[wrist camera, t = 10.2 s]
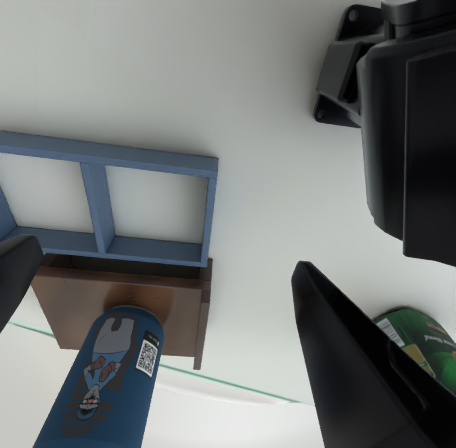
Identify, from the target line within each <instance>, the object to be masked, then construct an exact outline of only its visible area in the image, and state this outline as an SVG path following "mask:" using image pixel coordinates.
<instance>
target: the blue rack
mask: <svg viewBox="0 0 456 448" xmlns="http://www.w3.org/2000/svg"><path fill="white" fill-rule="evenodd" d="M0 152H1V153H9V154H17V155H26V156H34V157H42V158H51V159H59V160H67V161H76V162H80V166H81V171H82V176H83V180H84V185H85V190H86V195H87V199H88V204H89V209H90V213H91V218H92V223H93V228H94V232H95V234H89V233H79V232H68V231H58V230H48V229H38V228H28V227H18V226H17V225H16V223H15V221H14V218H13V216H12V213H11V211H10V209H9V206H8V204H7V202H6V199H5V197H4V195H3V192H2V190H1V187H0V242H2V241H5V240H7V239H10V238H12V237H15V236H17V235H20V234H29V235H35V236H36V237H37V238H38V240H39V243H40V245H41V248H42V251H43V252H44V253H55V254H66V255H77V256H87V257H98V258H109V259H120V260H131V261H142V262H153V263H164V264H175V265H186V266H197V267H207V259H208V250H209V242H210V233H211V225H212V216H213V208H214V199H215V191H216V182H217V174H218V161H219V159H218V158H212V157H204V156H196V155H188V154H180V153H172V152H164V151H157V150H149V149H141V148H133V147H125V146H117V145H109V144H101V143H94V142H86V141H78V140H70V139H62V138H54V137H46V136H38V135H30V134H23V133H15V132H7V131H0ZM105 165H109V166H117V167H126V168H134V169H142V170H150V171H159V172H167V173H175V174H184V175H192V176H200V177H209V181H208V191H207V201H206V212H205V222H204V232H203V242H202V245H200V244H190V243H180V242H170V241H160V240H150V239H140V238H129V237H119V236H115V229H114V223H113V216H112V210H111V203H110V197H109V190H108V184H107V177H106V171H105Z"/></svg>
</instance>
